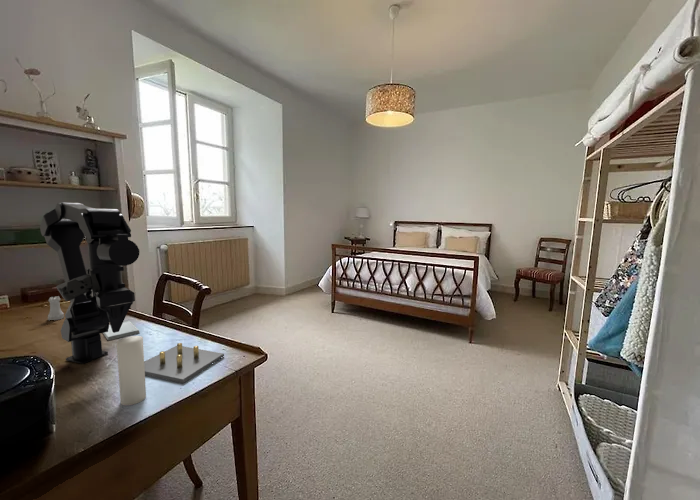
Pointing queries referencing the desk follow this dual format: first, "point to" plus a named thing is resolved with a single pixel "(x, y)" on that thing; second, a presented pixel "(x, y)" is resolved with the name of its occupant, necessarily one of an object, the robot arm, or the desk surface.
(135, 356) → the cream post
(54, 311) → the rook chess piece
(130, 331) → the hard drive
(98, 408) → the desk surface
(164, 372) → the charcoal plate
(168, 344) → the desk surface
